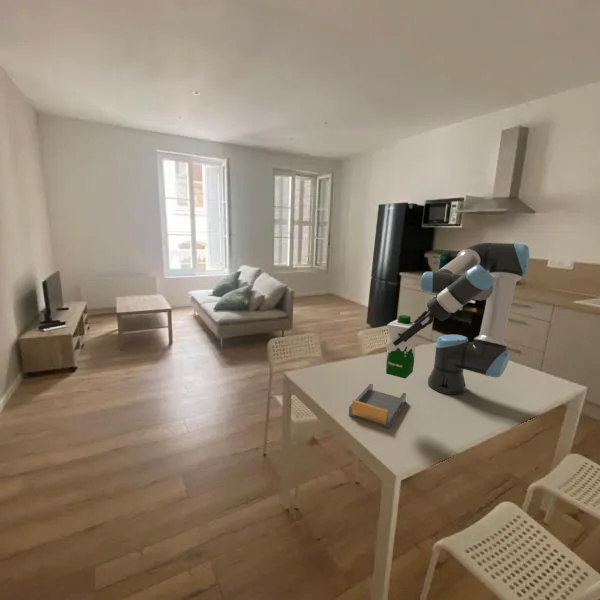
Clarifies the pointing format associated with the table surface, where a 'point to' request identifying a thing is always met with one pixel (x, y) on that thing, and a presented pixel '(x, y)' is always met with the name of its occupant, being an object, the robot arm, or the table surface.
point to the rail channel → (377, 407)
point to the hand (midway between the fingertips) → (391, 344)
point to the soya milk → (400, 349)
